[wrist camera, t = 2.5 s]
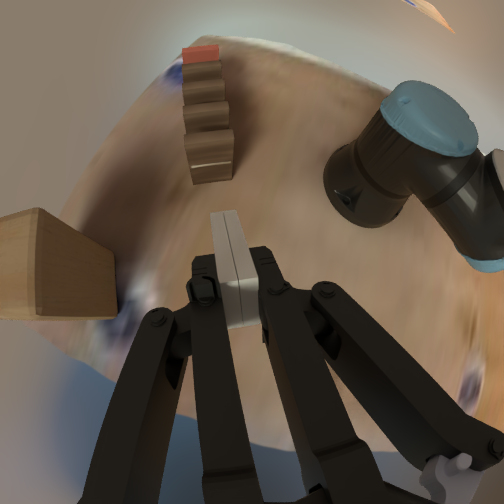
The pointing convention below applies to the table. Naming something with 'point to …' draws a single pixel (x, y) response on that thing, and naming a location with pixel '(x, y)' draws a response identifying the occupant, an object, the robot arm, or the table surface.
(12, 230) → the wooden block
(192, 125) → the tile
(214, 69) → the tile
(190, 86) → the tile
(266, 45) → the table surface
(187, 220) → the table surface
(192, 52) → the end tile
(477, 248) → the robot arm
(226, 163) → the tile
